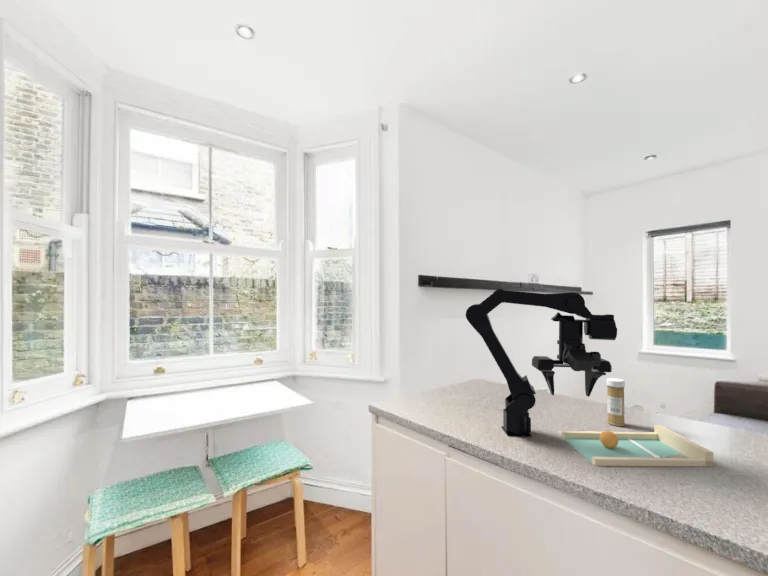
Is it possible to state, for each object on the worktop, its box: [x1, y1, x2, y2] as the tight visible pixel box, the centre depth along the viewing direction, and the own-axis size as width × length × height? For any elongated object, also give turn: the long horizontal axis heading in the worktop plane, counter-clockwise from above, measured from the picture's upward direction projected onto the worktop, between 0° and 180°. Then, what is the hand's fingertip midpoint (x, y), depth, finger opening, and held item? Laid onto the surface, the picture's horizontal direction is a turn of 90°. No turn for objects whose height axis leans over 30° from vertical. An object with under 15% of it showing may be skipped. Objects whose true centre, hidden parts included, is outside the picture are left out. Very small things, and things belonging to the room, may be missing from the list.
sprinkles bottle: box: [606, 377, 626, 427], centre depth 106 cm, size 5×5×14 cm
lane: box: [561, 424, 714, 467], centre depth 87 cm, size 26×16×4 cm, turn 88°
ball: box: [600, 430, 618, 448], centre depth 89 cm, size 4×4×4 cm
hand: (569, 395), depth 96 cm, fingers open, 9 cm apart
